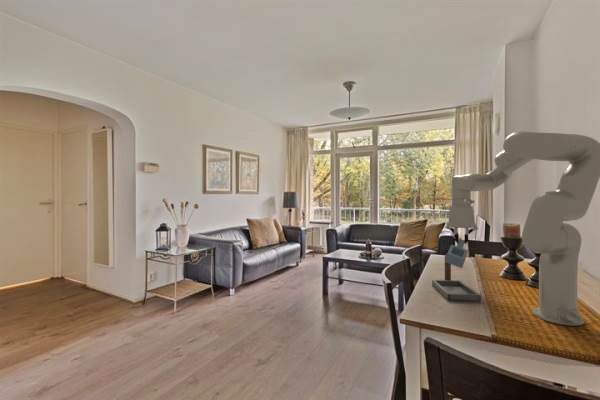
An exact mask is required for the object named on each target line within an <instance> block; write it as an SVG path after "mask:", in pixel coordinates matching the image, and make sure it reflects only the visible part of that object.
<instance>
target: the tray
mask: <svg viewBox="0 0 600 400" xmlns="http://www.w3.org/2000/svg"><path fill="white" fill-rule="evenodd" d="M431 286H432V287H433V288H434V287H435V288H436V289H435V288H434V289H435V290H436V291H437V290H438V291H437V292H438V293H439V294H441V296H442V297H443V298H444V299H446V301H448V300H450V302H451V301H452V302H454V301H455V302H475V303H476V302H477V303H478V302H479V303H480V302H482V295H481V294H480V293H479V292H477V291H476V290H475V289H473V288H472V287H470V286H469V285H467V284H466V283H464V282H463V281H462V280H458V279H457V280H453V279H451V280H445V279H432V280H431Z"/></svg>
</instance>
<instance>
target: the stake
mask: <svg viewBox="0 0 600 400" xmlns="http://www.w3.org/2000/svg"><path fill="white" fill-rule="evenodd" d="M446 256H447V253H445V255H444V280H452V264H449V263H446V262H445V260H446Z"/></svg>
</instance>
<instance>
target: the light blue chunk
mask: <svg viewBox="0 0 600 400" xmlns="http://www.w3.org/2000/svg"><path fill="white" fill-rule="evenodd" d="M464 246H465V239H461V238H459V242H458V243H456V245H455V244H450V246H449V249H448V251H447V253H446V254H447V256H446V255H445V256H446V260H445V259H444V263H445V262H446V263H449V264H451V266H455V267H457V268H459V269H463V267H464V264H465V262H466V259H467V255H468V252H469V249H466V248H464Z"/></svg>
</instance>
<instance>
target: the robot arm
mask: <svg viewBox="0 0 600 400" xmlns="http://www.w3.org/2000/svg"><path fill="white" fill-rule="evenodd" d="M502 144H503V145H502V149H503V150H502V151H500V152H499V153H498V154H496V155H495V157H494V164H495V166H496V167H495V168H494V169H492V170H491V171H489V172H487V173H468V174H464V175H463V174H462V175H461V174H460V175H454V176H452V177H451V205H450V206H449V210H448V222H447V224H446V226H445V229H447V230H448V231H451V232H452V234H453V235H454V242H455V243H456V244H458V242H459V239H460V237H459V235H460V234H459V233H458V228H459V229H465V234H464V240H465V243H464V245H467V243H469V235H470V234H471V233H472V232H475V231H477V230H478V229H479V228H478V226H477V224H476V222H475V211H474V206H473V205H472V204H475V199H474V200H473V199H472V198H471V194H472V193H471V192H490V191H492V190H495V189H496V188H498V187H500V186H502V185H503V184H506V182H507V181H509V179H510V177H511V176H512V174H513V173H514V172H515V171H516V170H519V168H521V167H523V166H524V165H526V164H528V163H529V162H531V161H533V160H538V161H539V160H540V161H546V162H568V163H569V165H568V167H567V168H566V169H565V170H564V171H563V173H562V175H561V177H560V180H559V183H558V185H557V188H556V189H555V190H552V191H545V192H543V193H540V194H539V195H537V197H536V198H534V200H533V202H532V203H531V205H530V207H529V211H528V213H527V217H526V220H525V223H524V226H523V229H522V234H521V237H522V238H521V240H522V243H523V246H524V247H525V248H526V249H527V250H528V251H530V252H532V253H535V254H540V255H539V256H540V257H539V262H538V264H539V265H538V303H539V304H538V307H534V308H533V309H532V313H533V315H534V316H535V317H537V318H539V319H541V320H544V321H545V322H546V321H547V322H549V323H553V324H557V325H563V326H571V327H572V326H573V327H574V326H575V327H576V326H582V325H584V324H585V319H584V317H582V316H581V315H580V310H579V309H578V270H579V269H578V268H579V265H578V264H579V256H580V250H581V245H582V236H581V233H580V231H579V230H578V228H576V227H575V226H573V225H572V224H570V223H567V222H572V221H577V220H580V219H582V218H584V217H585V216H586V214H587V212H588V210H589V208H590V204H591V203H592V200H593V197H594V194H595V192H596V189H597V186H598V183H599V181H600V142H599V141H598V140H596V139H594V138H593V137H590V136H587V135H583V134H575V133H561V132H559V133H558V132H537V131H535V132H534V131H514V132H513V133H510V134H509V135H508V136H506V138H505V139H504V141H503V143H502ZM565 222H566V223H565Z"/></svg>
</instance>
